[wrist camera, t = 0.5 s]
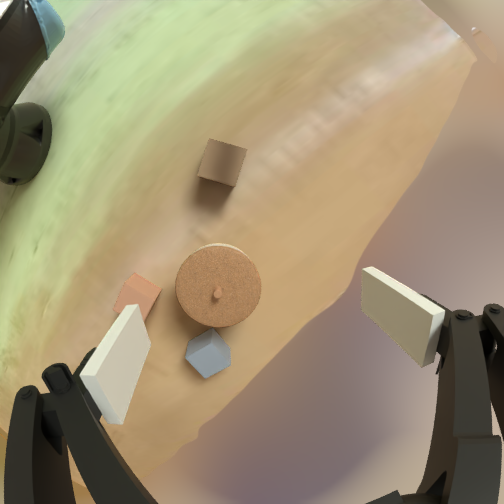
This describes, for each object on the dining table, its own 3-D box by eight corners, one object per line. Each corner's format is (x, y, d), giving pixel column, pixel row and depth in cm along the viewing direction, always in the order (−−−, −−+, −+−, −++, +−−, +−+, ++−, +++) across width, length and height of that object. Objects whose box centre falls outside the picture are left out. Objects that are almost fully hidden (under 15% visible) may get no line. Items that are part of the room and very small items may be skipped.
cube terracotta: (123, 297, 40) (112, 309, 35) (135, 272, 40) (124, 282, 35) (149, 312, 41) (141, 327, 36) (162, 288, 41) (154, 300, 36)
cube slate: (188, 341, 43) (185, 357, 38) (212, 327, 43) (211, 343, 38) (206, 361, 44) (205, 378, 39) (230, 348, 44) (230, 365, 39)
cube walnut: (200, 177, 38) (197, 175, 33) (211, 144, 37) (209, 138, 32) (234, 187, 38) (235, 186, 33) (244, 154, 37) (247, 149, 33)
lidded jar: (195, 311, 42) (188, 341, 33) (175, 246, 39) (161, 262, 30) (261, 295, 42) (271, 322, 33) (245, 228, 40) (251, 239, 31)
